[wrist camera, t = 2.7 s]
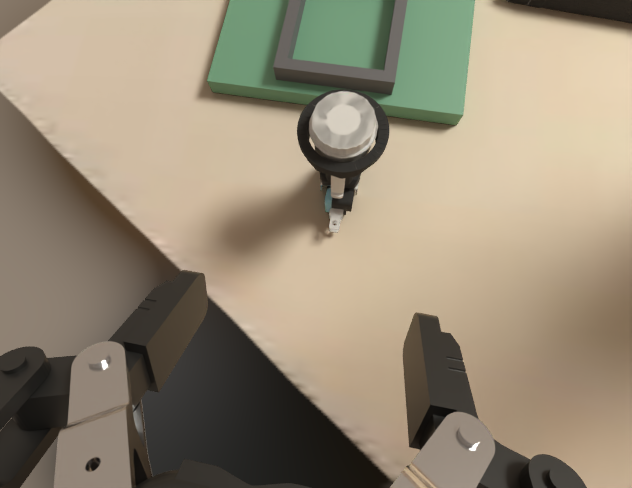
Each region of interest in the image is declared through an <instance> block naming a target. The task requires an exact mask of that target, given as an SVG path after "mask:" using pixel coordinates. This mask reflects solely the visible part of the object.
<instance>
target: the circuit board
mask: <svg viewBox="0 0 632 488" xmlns="http://www.w3.org/2000/svg"><path fill="white" fill-rule="evenodd" d="M474 4H475V0H230V2H229V6H228V9H227V13H226V16H225V19H224V23H223V26H222V30H221V33H220V37H219V40H218V44H217V47H216V51H215V54H214V58H213V61H212V65H211V68H210V72H209V75H208V79H207V82H208V84H209V86H210V88H211V90H212V91H213V92H215V93H223V94H230V95H237V96H245V97H252V98H259V99H267V100H274V101H281V102H289V103H296V104H304V105H308V104H309V103H310V102H311V101H312V100H313V99H315V98H316V97H318V96H319V95H321V94H323V93H326V92H329V91H332V90H339V89H348V90H355V91H359V92H361V93H364V94H366V95H368V96H370V97H371V98H373V99H374V100H375V101H376V102H377V103H378V104H379V105H380V106H381V107H382V109H383V110H384V112H385V114H386V116H392V117H399V118H406V119H414V120H421V121H429V122H436V123H443V124H451V125H457V124H458V122H459V121H460V119H461V118H462V116H463V111H464V102H465V92H466V82H467V73H468V63H469V53H470V43H471V34H472V24H473V14H474Z"/></svg>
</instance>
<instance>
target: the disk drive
mask: <svg viewBox="0 0 632 488" xmlns="http://www.w3.org/2000/svg"><path fill="white" fill-rule="evenodd" d="M506 1H507V2H512V3H518V4H524V5H528V6H532V7H538V8H546V9H552V10H559V11H564V12H570V13H576V14H581V15H587V16H593V17H599V18H605V19H611V20H617V21H623V22H628V23H632V0H506Z"/></svg>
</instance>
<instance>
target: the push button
mask: <svg viewBox="0 0 632 488" xmlns="http://www.w3.org/2000/svg"><path fill="white" fill-rule="evenodd" d="M297 136H298V141H299V145H300V148H301V150H302V152H303V154H304V156H305V157H306V158H307V160H308V161H309V162H310V163H311V165H312V166H313V167H314V168H315V169H316V170H317V171H319V172H320V179H321V183H320V189H321V191H322V186H323V185H324V186H327V192H326V196H325V212H329V219H330V224H329V231H330V232H336V233H338V232H339V227H340V220H342V219H343V214H345V215H346V211H351V209H352V202H353V195H354V189H356V194H355V195H357V190H358V182H359V179H360V175H361V173H362V172H363V171H364V170H366V169H367V168H368V167H370V166H371V165H373V164H374V163H375V162H376V161H377V160H378V159H379V158H380V156H381V155H382V154H383V152H384V150H385V148H386V145H387V142H388V138H389V123H388V119H387V116H386V114H385V112H384V110H383V109H382V107H381V106H380V105H379V104H378V103H377V102H376V101H375V100H374V99H373V98H371V97H370V96H368V95H366V94H364V93H361V92H359V91H355V90H348V89H339V90H332V91H329V92H326V93H323V94H321V95H319V96H318V97H316V98H315V99H313V100H312V101H311V102H310V103H309V104H308V105H307V106H306V107H305V109H304V110H303V112H302V114H301V116H300V118H299V121H298V127H297ZM309 137H311V139H312V141H313V143H314V145H315V150H314V149H313V147H312V146H311V144H310V142H309ZM374 140H376V144H375V146H374V147H373V149H372V150H371V151H370V152H369V150H370V147H371V144H372V143H373V142H374ZM368 152H369V153H368ZM333 224H336V225H333Z"/></svg>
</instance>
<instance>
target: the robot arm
mask: <svg viewBox="0 0 632 488" xmlns="http://www.w3.org/2000/svg"><path fill="white" fill-rule="evenodd" d="M207 308H208V300H207V291H206V282H205V276H204V274H203V273H198V272H192V271H187V270H183V271H181V272H180V273H179V275H178V276H177V277H176V278H175V279H174V280H173V282H171V281H166V282H164V283H162V284H161V285H159V286H157V287H156V288H154V289H153V290H152V291H151V293H150V294H149V295H148V296H147V297H146V298H145V301H143V302H142V303H141V304H140V305H139V306H138V309H136V310H135V311H134V312H133V313H132V314H131V315H130V317H129V318H128V319H127V320H126V321H125V322H124V323H123V325H122V326H121V327H120V328H119V329H118V330H117V331H116V332H115V334H114V335H113V336H112V337H111V338H110V339H109V340H108V341H106V342H100V343H96V344H94V345H91V346H89V347H88V348H86V349H84V350H83V351H82V352H81V353H79V354H78V355H77V356H66V357H54V358H46V355H45V354H44V352H43V350H41V349H40V348H37V347H22V348H18V349H15V350H12V351H10V352H7V353H5V354H3V355H2V356H0V430H1V429H2V428H3V427H4V428H3V429H2V430H1V431H0V488H20V487H21V485H22V484H23V483H24V481H25V480H26V478H27V477H28V476H29V474H30V473H31V472H32V470H33V469H34V468H35V466H36V465H37V463H38V462H39V461H40V459H41V458H42V457H43V455H44V454H45V452H46V451H47V449H48V448H49V447H50V446H51V444H52V443H53V442H54V440H55V439H56V437H57V436H58V443H57V456H56V466H55V478H54V488H310V487H306V486H301V485H297V484H293V483H284V484H270V485H257V486H251V485H249V484H247V483H245V482H243V481H242V480H240V479H238V478H237V477H235V476H233V475H232V474H230V473H228V472H227V471H225V470H223V469H221V468H220V467H218V466H214V465H209V464H205V463H201V462H197V461H192V460H188V459H184V460H183V462H182V464H181V466H180V469H179V470H172V471H168V472H164V473H161V474H158V475H155V476H154V477H152V472H151V467H150V462H149V458H148V452H147V443H146V435H145V426H144V417H143V408H142V402H141V399H142V397H143V395H144V394H145V392H146V391H147V390H150V391H155V392H159V391H160V390H161V388H162V386H163V385H164V383H165V381H166V380H167V378H168V376H169V375H170V373H171V372H172V370H173V368H174V366H175V365H176V363H177V362H178V360H179V358H180V357H181V355H182V354H183V352H184V350H185V349H186V347H187V345H188V344H189V342H190V341H191V339H192V337H193V336H194V334H195V332H196V331H197V329H198V327H199V326H200V324H201V323H202V321H203V319H204V317H205V315H206V312H207ZM403 365H404V379H405V393H406V407H407V421H408V435H409V447H411V448H416V449H420V452H419V453H418V455H417V456H416V457H415V459H414V460H413V461H412V462H411V464H410V465H409V466H407V467H406V468H405V469H404V470H403V471H402V472H401V474H400V475H399V476H398V477H397V479H396V480H395V481H394V483H393V484H392V485H391V487H390V488H587V487H586V486H585V484H584V482H583V481H582V479H581V478H580V477H579V476H578V474H577V473H576V472H575V471H574V470H573V469H572V468H571V467H569V466H568V465H567V464H566V463H564V462H563V461H561V460H559V459H557V458H555V457H553V456H550V455H545V454H540V455H536V456H534V457H533V458H532V459H531V460H530V459H528V458H526V457H524V456H522V455H520V454H518V453H516V452H514V451H512V450H510V449H508V448H507V447H505V446H503V445H501V444H500V443H498V442H497V441H496V440H494V439H493V437H492V435H491V433H490V431H489V430H488V429H487V427H486V426H485V425H484V424H483V423H482V422H481V421H480V420H479V419H478V416H477V413H476V409H475V405H474V401H473V397H472V393H471V390H470V386H469V382H468V378H467V374H466V373H465V371H466V370H465V366H464V362H463V358H462V354H461V350H460V346H459V345H458V343H457V342H456V341H455V339H454V338H453V336H452V335H451V334H450V333H445V332H441V329H440V324H439V320H438V317H437V316H433V315H427V314H422V313H415V314H414V317H413V319H412V322H411V325H410V328H409V331H408V333H407V336H406V339H405V342H404V348H403ZM11 418H12V419H11ZM10 419H11V420H10ZM9 420H10V421H9ZM8 421H9V422H8ZM7 422H8V423H7ZM6 423H7V424H6ZM64 426H65V427H64Z"/></svg>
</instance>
